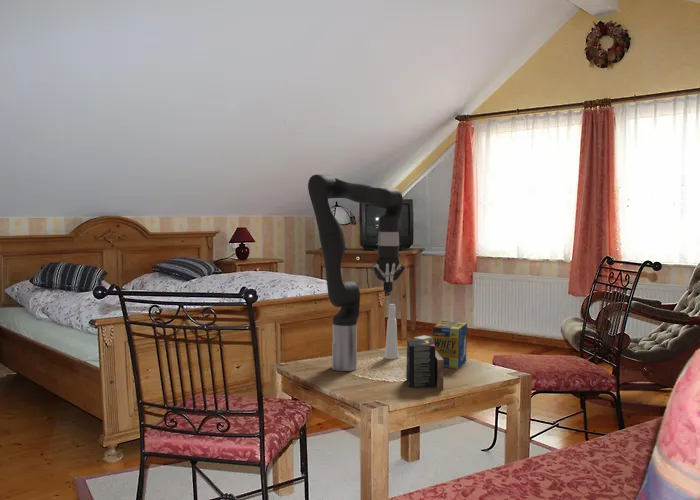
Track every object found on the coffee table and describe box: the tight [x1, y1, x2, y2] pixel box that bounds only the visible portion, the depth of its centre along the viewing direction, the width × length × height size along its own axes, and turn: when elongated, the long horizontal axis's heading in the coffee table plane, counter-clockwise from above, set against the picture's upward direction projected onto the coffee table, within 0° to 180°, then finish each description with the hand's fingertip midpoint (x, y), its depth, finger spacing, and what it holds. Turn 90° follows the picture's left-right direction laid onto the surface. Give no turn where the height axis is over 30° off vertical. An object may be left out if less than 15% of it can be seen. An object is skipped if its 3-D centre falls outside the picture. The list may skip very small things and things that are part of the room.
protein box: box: [432, 320, 468, 370], centre depth 267 cm, size 10×15×16 cm
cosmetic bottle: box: [383, 303, 400, 360], centre depth 276 cm, size 6×6×22 cm
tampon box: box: [405, 339, 436, 389], centre depth 236 cm, size 11×9×15 cm
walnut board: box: [435, 350, 445, 390], centre depth 239 cm, size 2×18×10 cm, turn 3°
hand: (387, 292), depth 244 cm, fingers closed
